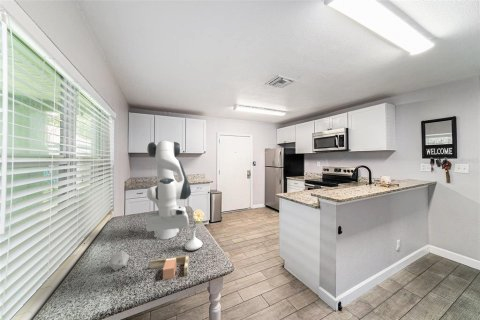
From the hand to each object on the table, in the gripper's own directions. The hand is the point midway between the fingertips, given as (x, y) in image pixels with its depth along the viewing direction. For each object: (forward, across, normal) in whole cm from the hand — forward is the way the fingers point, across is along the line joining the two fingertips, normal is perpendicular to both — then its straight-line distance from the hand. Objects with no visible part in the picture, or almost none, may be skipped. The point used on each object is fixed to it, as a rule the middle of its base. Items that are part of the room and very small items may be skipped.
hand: (168, 237), depth 92 cm
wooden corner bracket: (+19, -1, +1) cm, 19 cm away
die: (+19, -28, +12) cm, 36 cm away
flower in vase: (+19, +12, +23) cm, 32 cm away
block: (+19, 0, 0) cm, 19 cm away
